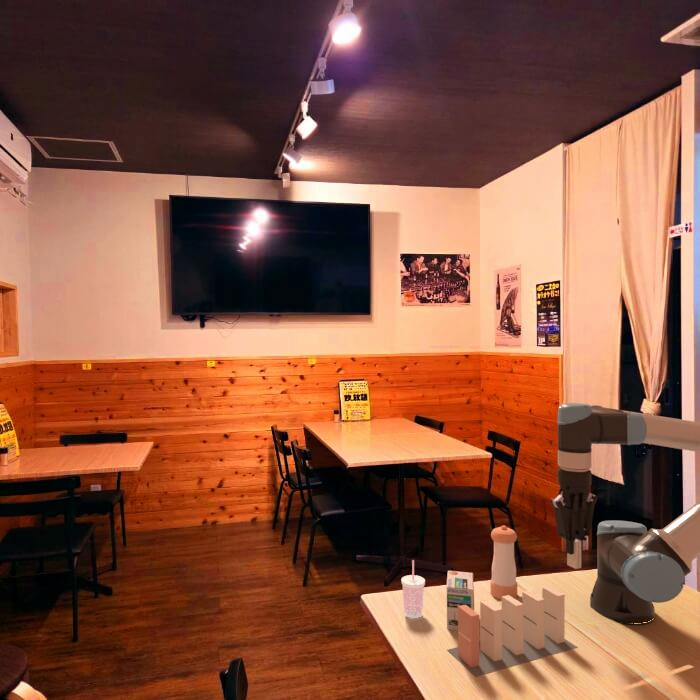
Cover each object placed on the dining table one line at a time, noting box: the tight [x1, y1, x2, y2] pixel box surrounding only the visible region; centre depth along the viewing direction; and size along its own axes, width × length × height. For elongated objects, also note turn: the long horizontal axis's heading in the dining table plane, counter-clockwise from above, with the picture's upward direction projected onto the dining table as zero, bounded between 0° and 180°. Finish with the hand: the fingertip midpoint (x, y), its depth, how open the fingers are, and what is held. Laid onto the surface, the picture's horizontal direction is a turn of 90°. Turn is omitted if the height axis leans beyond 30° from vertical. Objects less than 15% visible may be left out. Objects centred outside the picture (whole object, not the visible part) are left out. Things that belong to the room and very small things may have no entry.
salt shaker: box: [490, 525, 518, 601], centre depth 154 cm, size 7×7×19 cm
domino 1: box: [457, 605, 480, 668], centre depth 121 cm, size 2×5×11 cm, turn 23°
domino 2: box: [479, 599, 502, 661], centre depth 123 cm, size 2×5×11 cm, turn 24°
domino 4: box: [541, 585, 566, 643], centre depth 130 cm, size 2×5×11 cm, turn 23°
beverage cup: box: [400, 559, 426, 619], centre depth 143 cm, size 6×6×14 cm
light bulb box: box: [446, 570, 475, 631], centre depth 139 cm, size 11×7×11 cm, turn 168°
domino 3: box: [521, 590, 544, 649], centre depth 128 cm, size 2×5×11 cm, turn 24°
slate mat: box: [446, 635, 578, 677], centre depth 126 cm, size 28×11×1 cm, turn 113°
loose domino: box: [501, 595, 523, 655], centre depth 126 cm, size 2×5×11 cm, turn 24°
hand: (574, 566), depth 133 cm, fingers closed
